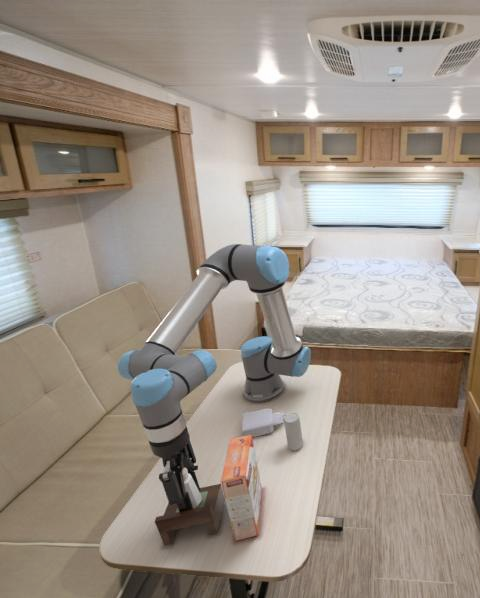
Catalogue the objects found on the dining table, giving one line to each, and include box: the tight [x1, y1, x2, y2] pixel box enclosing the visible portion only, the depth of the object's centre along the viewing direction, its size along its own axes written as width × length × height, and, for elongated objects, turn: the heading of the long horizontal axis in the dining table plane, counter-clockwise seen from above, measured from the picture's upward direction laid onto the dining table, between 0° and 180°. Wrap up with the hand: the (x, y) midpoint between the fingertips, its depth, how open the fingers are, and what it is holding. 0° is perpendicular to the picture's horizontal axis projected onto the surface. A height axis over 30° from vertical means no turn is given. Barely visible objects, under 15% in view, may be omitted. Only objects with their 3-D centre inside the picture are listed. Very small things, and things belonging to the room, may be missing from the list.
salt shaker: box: [182, 468, 202, 509], centre depth 86 cm, size 5×5×11 cm
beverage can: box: [283, 412, 304, 451], centre depth 112 cm, size 5×5×12 cm
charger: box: [241, 407, 288, 438], centre depth 122 cm, size 5×9×15 cm
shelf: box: [154, 483, 226, 547], centre depth 89 cm, size 10×12×9 cm
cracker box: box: [220, 435, 263, 542], centre depth 88 cm, size 14×6×21 cm, turn 17°
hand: (190, 501), depth 88 cm, fingers closed on salt shaker, 5 cm apart
